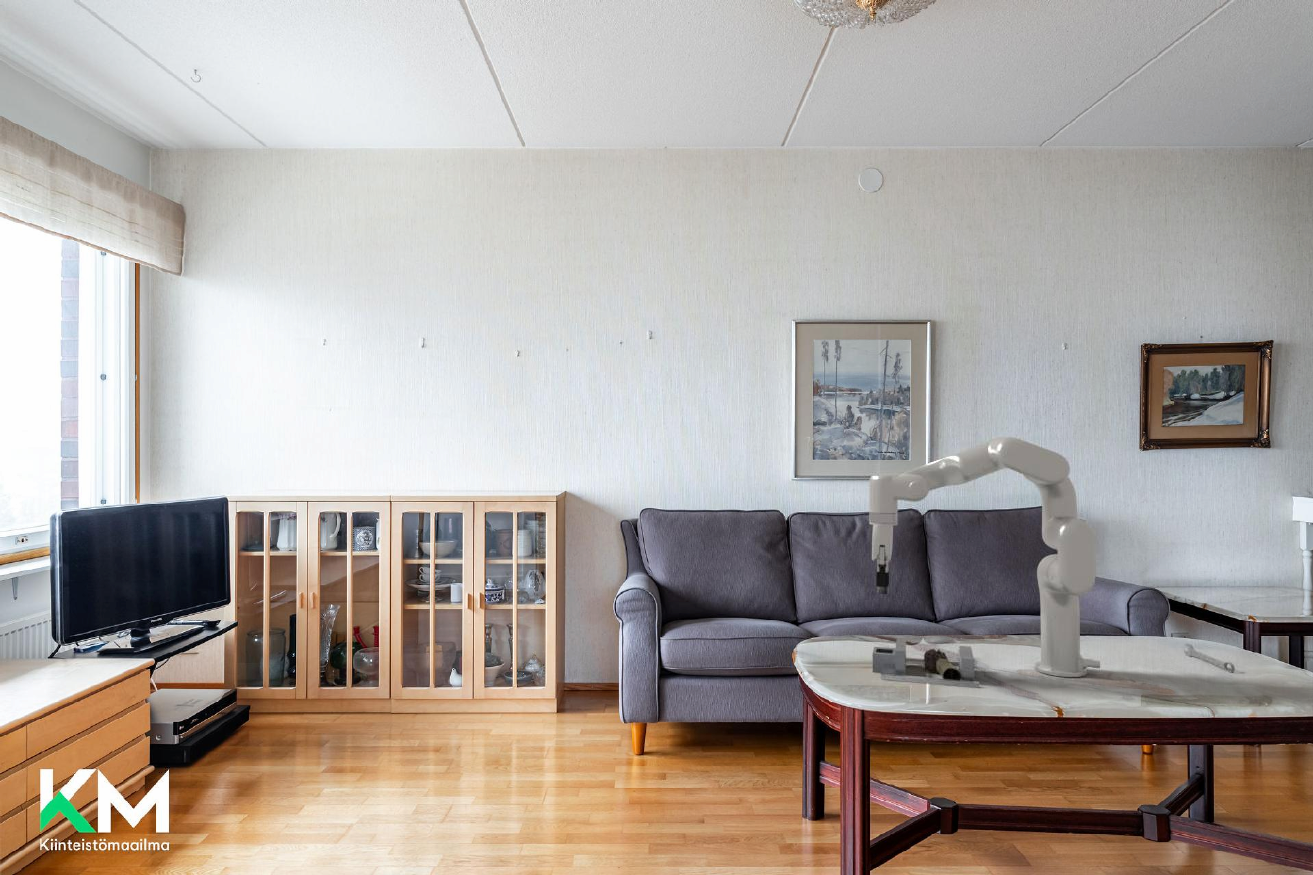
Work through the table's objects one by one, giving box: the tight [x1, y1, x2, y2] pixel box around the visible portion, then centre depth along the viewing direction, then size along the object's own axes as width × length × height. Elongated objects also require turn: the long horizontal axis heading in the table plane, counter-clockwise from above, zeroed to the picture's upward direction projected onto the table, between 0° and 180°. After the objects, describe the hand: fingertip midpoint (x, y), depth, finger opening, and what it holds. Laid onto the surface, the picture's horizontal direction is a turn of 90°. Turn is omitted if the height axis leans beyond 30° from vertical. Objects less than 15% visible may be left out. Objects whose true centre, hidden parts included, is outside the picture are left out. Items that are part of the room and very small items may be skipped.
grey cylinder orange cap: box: [876, 558, 890, 595], centre depth 216 cm, size 3×3×10 cm
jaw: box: [957, 645, 975, 681], centre depth 209 cm, size 3×14×6 cm, turn 161°
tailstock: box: [872, 638, 907, 676], centre depth 215 cm, size 8×14×7 cm, turn 161°
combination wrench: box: [1183, 643, 1235, 673], centre depth 222 cm, size 4×1×20 cm
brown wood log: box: [923, 648, 962, 680], centre depth 211 cm, size 18×7×6 cm, turn 174°
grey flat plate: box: [880, 656, 980, 689], centre depth 212 cm, size 24×20×1 cm
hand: (882, 585), depth 216 cm, fingers closed on grey cylinder orange cap, 3 cm apart
